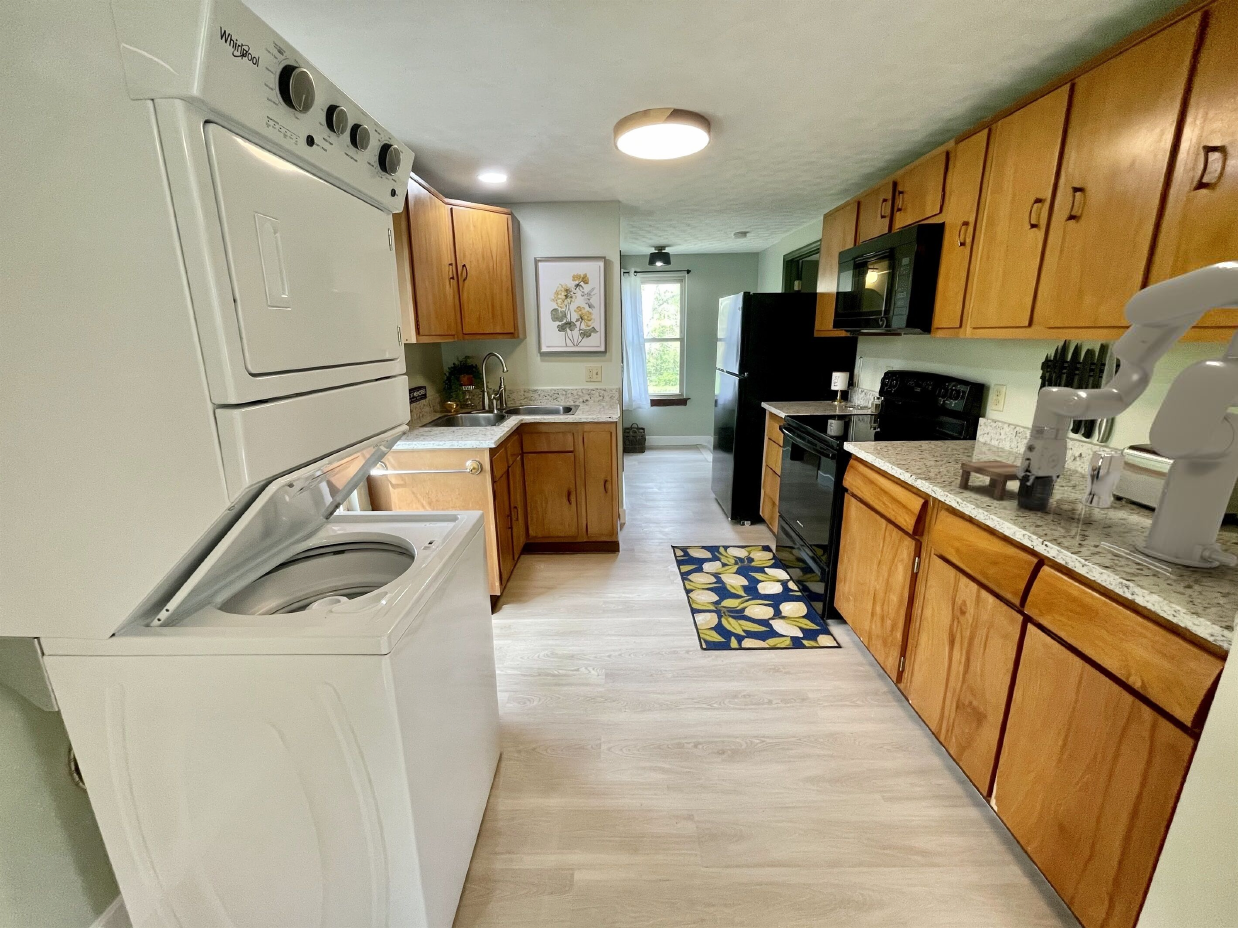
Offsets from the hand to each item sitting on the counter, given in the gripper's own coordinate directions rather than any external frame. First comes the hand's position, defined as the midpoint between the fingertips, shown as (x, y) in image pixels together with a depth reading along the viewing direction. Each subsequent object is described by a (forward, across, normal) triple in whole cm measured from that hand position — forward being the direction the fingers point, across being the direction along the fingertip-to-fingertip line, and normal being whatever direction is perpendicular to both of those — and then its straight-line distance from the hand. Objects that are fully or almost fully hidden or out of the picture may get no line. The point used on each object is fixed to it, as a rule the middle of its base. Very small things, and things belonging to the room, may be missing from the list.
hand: (1034, 496), depth 138 cm
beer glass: (+4, +21, -2) cm, 21 cm away
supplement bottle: (+3, 0, 0) cm, 3 cm away
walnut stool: (+3, +3, +13) cm, 14 cm away
